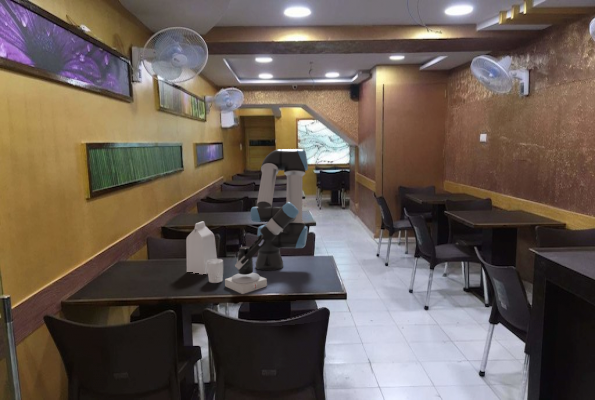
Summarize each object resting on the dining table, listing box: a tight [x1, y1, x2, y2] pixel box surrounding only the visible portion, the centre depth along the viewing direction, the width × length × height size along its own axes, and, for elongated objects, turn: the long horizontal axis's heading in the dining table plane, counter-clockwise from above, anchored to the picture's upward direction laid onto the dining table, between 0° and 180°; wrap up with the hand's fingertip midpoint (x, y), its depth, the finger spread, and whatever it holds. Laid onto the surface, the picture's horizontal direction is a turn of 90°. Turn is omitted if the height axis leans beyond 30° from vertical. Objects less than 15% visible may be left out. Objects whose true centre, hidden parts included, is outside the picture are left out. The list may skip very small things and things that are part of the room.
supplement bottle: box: [237, 246, 254, 275], centre depth 190 cm, size 7×7×12 cm
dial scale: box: [224, 272, 268, 295], centre depth 192 cm, size 15×14×5 cm
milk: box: [185, 220, 218, 275], centre depth 216 cm, size 12×12×26 cm
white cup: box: [207, 258, 224, 284], centre depth 200 cm, size 8×8×10 cm
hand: (237, 265), depth 190 cm, fingers closed on supplement bottle, 7 cm apart
